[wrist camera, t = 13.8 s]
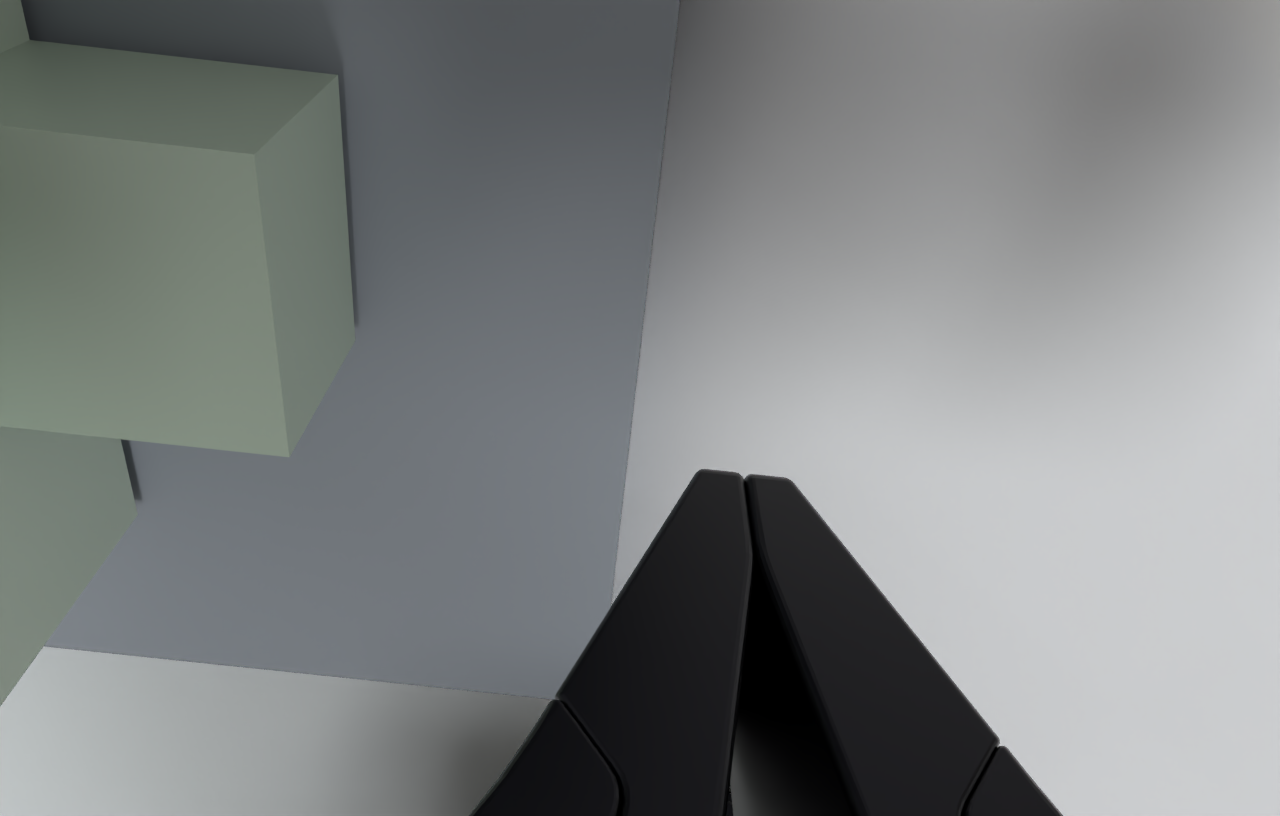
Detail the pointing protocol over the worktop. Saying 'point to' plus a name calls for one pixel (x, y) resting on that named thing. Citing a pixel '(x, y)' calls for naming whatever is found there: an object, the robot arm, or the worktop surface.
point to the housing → (151, 289)
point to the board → (421, 352)
